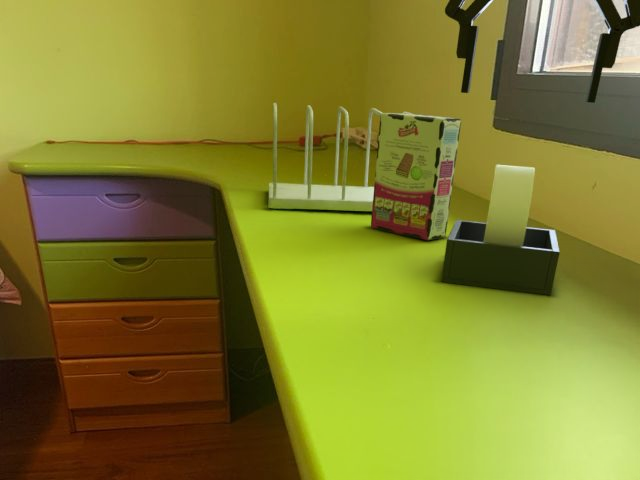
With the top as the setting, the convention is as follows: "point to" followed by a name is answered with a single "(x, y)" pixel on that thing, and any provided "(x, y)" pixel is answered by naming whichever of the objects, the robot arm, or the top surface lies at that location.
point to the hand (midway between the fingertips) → (526, 97)
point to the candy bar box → (414, 174)
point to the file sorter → (322, 194)
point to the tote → (501, 259)
